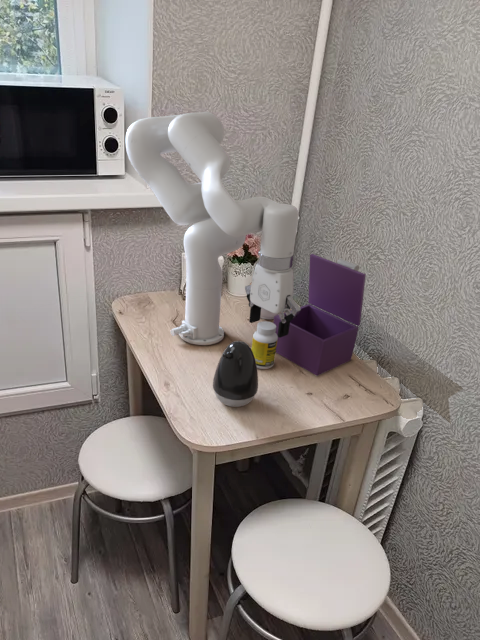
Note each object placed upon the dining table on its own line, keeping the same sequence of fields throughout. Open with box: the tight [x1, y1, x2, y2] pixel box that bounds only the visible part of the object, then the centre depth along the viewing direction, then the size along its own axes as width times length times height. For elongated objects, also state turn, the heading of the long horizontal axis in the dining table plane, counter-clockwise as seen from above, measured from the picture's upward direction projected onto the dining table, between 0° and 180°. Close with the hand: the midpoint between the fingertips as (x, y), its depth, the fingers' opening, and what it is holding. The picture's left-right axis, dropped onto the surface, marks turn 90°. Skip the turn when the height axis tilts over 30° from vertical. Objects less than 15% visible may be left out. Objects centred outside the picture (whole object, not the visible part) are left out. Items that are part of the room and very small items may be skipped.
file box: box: [272, 303, 360, 377], centre depth 137 cm, size 14×17×10 cm
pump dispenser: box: [212, 340, 259, 408], centre depth 116 cm, size 10×10×15 cm
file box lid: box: [307, 253, 367, 327], centre depth 134 cm, size 14×17×6 cm
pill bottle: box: [250, 320, 278, 370], centre depth 132 cm, size 6×6×11 cm
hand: (268, 328), depth 129 cm, fingers open, 9 cm apart
